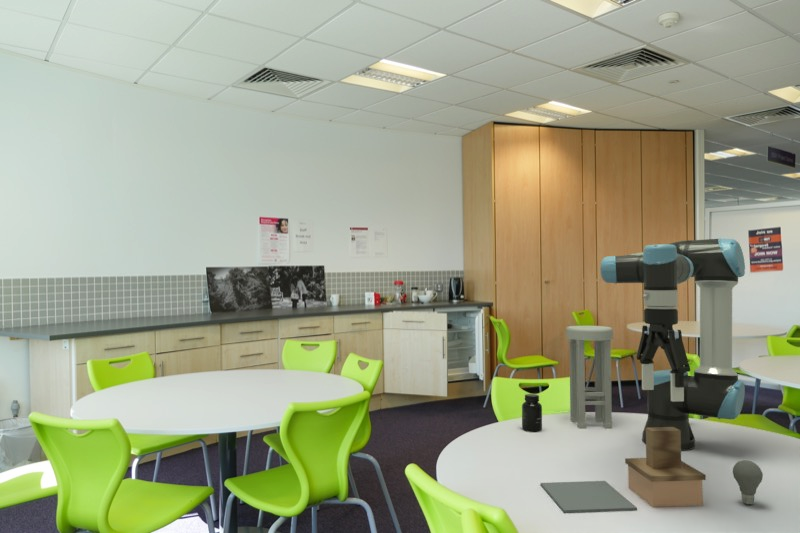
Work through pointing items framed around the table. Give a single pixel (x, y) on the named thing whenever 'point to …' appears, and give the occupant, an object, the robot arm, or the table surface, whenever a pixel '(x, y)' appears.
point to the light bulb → (747, 479)
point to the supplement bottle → (532, 413)
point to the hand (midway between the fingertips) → (661, 395)
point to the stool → (602, 374)
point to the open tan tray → (665, 491)
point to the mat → (587, 497)
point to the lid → (664, 457)
